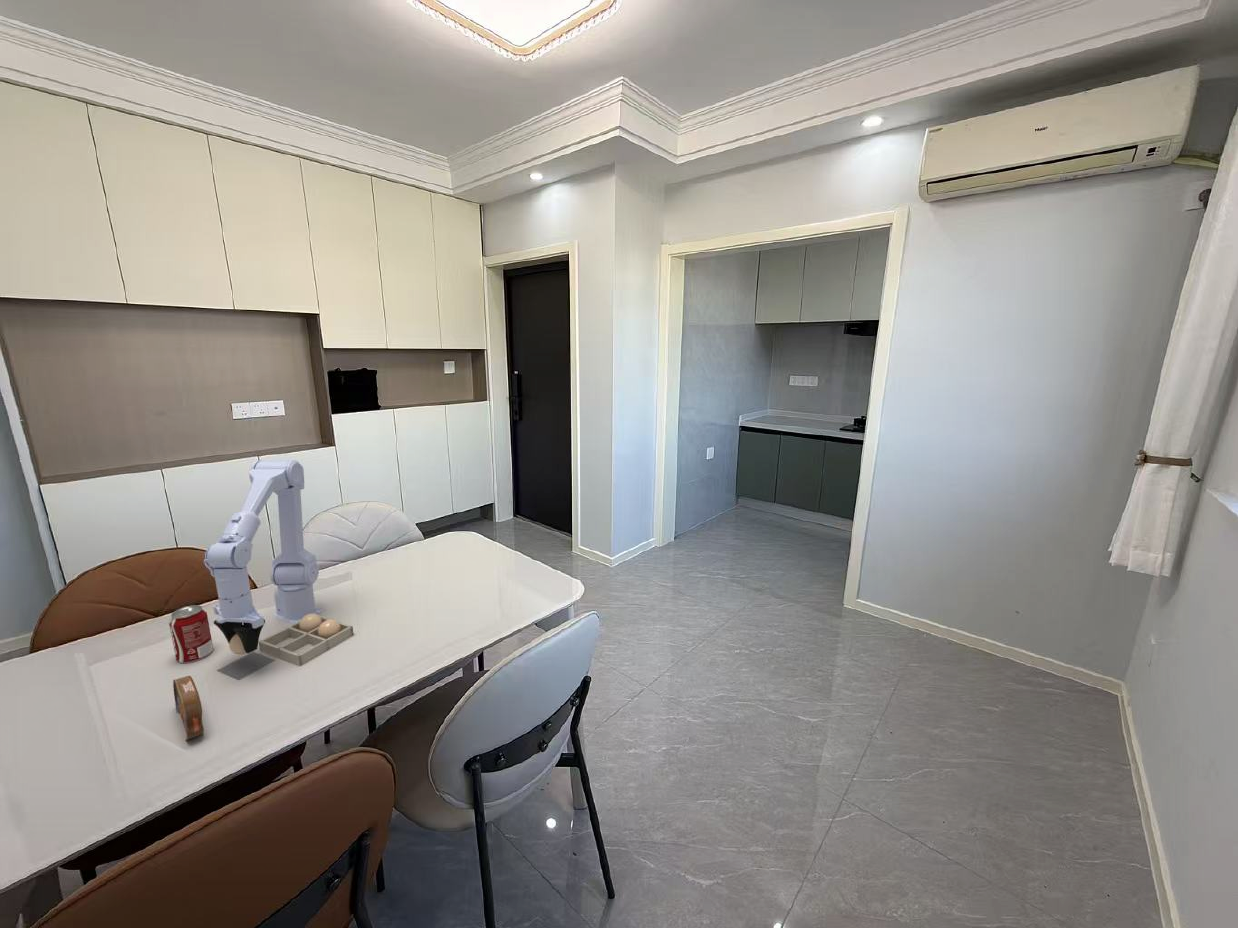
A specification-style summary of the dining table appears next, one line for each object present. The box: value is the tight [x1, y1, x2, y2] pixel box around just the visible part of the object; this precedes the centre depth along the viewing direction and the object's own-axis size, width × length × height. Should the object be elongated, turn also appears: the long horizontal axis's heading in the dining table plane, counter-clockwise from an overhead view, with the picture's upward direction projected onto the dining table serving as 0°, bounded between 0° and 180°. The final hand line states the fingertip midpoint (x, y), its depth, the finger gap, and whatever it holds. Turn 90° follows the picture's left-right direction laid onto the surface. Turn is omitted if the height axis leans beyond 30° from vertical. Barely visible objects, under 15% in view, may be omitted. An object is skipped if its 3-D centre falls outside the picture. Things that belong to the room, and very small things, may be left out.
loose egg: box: [228, 634, 247, 655], centre depth 113 cm, size 5×5×5 cm
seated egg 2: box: [318, 619, 341, 639], centre depth 125 cm, size 5×5×5 cm
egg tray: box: [258, 615, 354, 667], centre depth 124 cm, size 14×14×3 cm
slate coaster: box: [216, 651, 276, 681], centre depth 115 cm, size 8×8×1 cm
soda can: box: [168, 604, 214, 664], centre depth 117 cm, size 7×7×12 cm
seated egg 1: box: [299, 613, 322, 633], centre depth 128 cm, size 5×5×5 cm
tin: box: [172, 675, 205, 741], centre depth 96 cm, size 15×3×8 cm, turn 47°
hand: (244, 647), depth 114 cm, fingers closed on loose egg, 5 cm apart
